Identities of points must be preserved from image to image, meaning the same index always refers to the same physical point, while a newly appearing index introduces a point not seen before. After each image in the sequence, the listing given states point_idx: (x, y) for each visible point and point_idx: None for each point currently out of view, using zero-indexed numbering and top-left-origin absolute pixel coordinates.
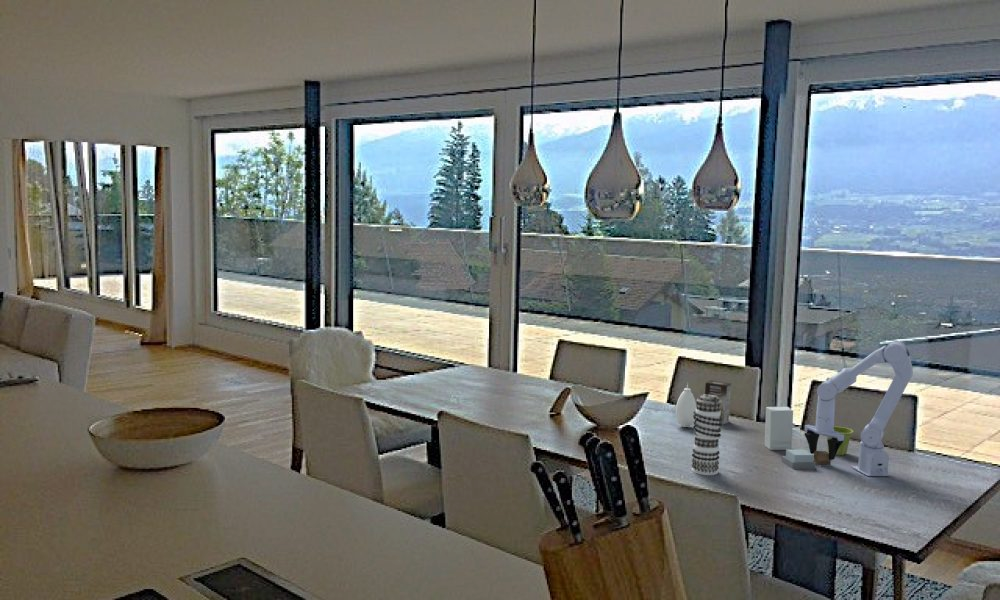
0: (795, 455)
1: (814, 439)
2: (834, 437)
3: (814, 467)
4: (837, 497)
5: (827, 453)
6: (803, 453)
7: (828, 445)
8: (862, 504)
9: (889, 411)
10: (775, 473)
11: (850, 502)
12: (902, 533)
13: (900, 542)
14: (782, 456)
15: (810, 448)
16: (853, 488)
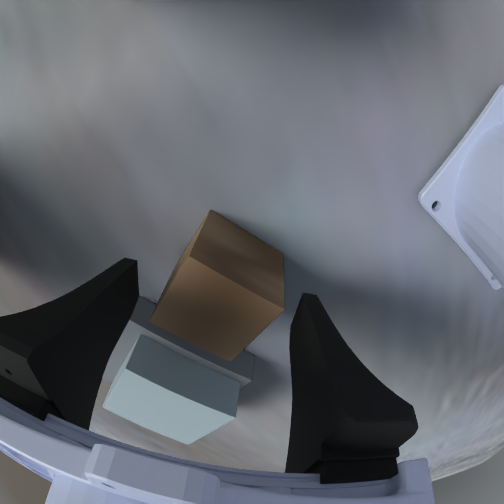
0: (189, 441)
1: (85, 362)
2: (332, 491)
3: (252, 361)
4: (405, 454)
5: (251, 312)
6: (187, 421)
7: (291, 437)
8: (451, 443)
9: None
10: (208, 443)
11: (430, 451)
12: (486, 452)
13: (477, 462)
14: (105, 379)
15: (118, 329)
16: (440, 410)
